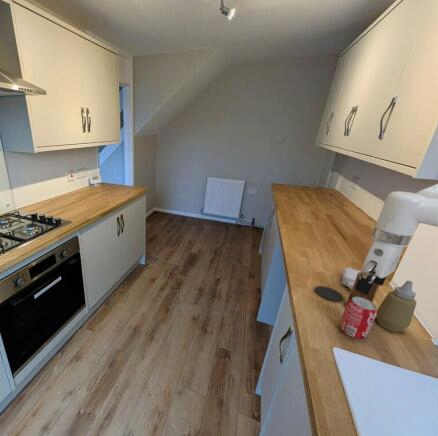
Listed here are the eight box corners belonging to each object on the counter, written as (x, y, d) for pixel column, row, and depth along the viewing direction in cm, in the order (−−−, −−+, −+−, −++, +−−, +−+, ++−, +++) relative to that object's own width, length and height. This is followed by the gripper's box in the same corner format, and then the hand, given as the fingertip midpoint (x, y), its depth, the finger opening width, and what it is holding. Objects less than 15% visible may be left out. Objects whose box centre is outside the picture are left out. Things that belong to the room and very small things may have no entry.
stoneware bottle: (371, 311, 87) (390, 267, 81) (363, 317, 84) (382, 272, 78) (350, 300, 92) (366, 258, 86) (342, 306, 90) (358, 263, 83)
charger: (340, 291, 98) (342, 275, 109) (369, 301, 92) (368, 283, 103) (343, 281, 96) (345, 266, 107) (373, 291, 91) (372, 274, 102)
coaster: (346, 297, 95) (347, 296, 94) (335, 304, 90) (335, 303, 90) (322, 285, 102) (322, 284, 102) (310, 291, 98) (311, 290, 98)
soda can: (363, 329, 79) (375, 300, 75) (368, 344, 73) (382, 314, 69) (337, 321, 82) (347, 292, 78) (340, 335, 77) (351, 305, 72)
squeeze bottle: (395, 319, 83) (416, 276, 77) (412, 337, 76) (436, 291, 70) (367, 315, 85) (386, 272, 79) (381, 332, 78) (403, 286, 72)
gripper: (396, 248, 59) (371, 304, 65) (420, 235, 67) (396, 286, 73) (359, 237, 65) (340, 288, 71) (385, 226, 73) (366, 273, 79)
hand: (368, 287), depth 72 cm, fingers open, 9 cm apart
